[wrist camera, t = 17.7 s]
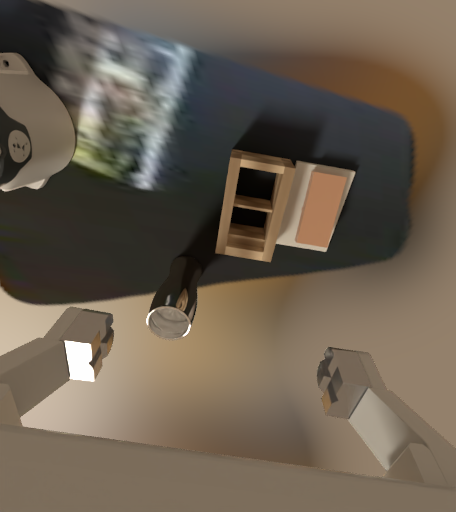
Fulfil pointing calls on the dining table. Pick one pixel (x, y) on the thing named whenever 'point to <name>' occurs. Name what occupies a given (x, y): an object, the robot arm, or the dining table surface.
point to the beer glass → (175, 300)
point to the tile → (320, 209)
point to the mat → (298, 197)
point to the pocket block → (254, 207)
